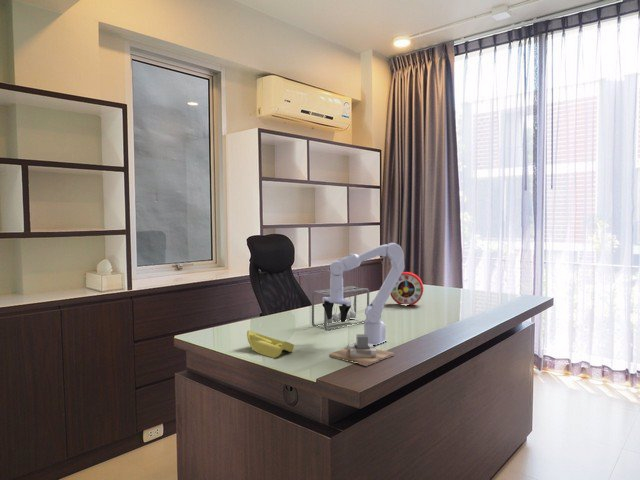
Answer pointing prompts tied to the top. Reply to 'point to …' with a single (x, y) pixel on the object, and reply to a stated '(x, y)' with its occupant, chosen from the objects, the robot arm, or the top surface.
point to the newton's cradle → (336, 316)
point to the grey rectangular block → (361, 341)
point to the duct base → (360, 359)
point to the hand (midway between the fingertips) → (336, 320)
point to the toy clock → (407, 289)
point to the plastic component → (267, 344)
